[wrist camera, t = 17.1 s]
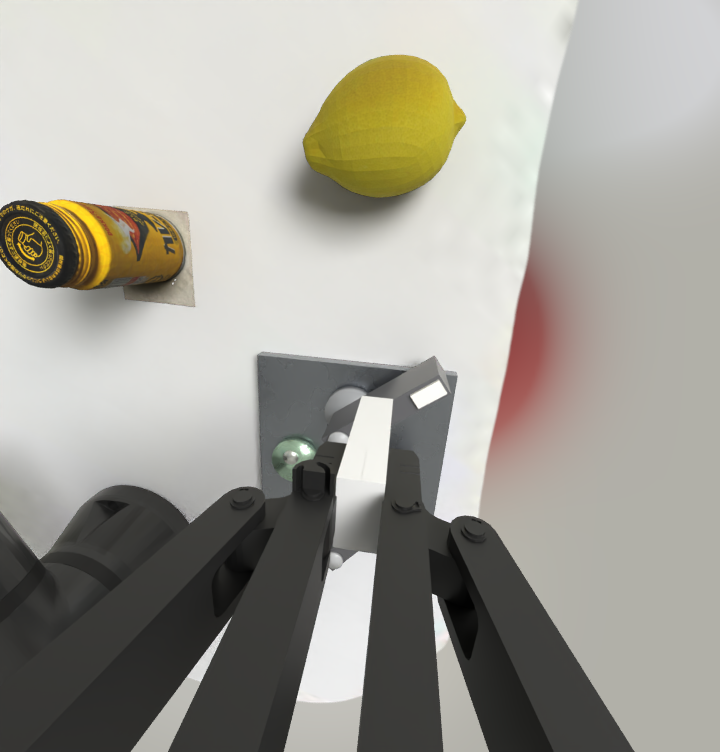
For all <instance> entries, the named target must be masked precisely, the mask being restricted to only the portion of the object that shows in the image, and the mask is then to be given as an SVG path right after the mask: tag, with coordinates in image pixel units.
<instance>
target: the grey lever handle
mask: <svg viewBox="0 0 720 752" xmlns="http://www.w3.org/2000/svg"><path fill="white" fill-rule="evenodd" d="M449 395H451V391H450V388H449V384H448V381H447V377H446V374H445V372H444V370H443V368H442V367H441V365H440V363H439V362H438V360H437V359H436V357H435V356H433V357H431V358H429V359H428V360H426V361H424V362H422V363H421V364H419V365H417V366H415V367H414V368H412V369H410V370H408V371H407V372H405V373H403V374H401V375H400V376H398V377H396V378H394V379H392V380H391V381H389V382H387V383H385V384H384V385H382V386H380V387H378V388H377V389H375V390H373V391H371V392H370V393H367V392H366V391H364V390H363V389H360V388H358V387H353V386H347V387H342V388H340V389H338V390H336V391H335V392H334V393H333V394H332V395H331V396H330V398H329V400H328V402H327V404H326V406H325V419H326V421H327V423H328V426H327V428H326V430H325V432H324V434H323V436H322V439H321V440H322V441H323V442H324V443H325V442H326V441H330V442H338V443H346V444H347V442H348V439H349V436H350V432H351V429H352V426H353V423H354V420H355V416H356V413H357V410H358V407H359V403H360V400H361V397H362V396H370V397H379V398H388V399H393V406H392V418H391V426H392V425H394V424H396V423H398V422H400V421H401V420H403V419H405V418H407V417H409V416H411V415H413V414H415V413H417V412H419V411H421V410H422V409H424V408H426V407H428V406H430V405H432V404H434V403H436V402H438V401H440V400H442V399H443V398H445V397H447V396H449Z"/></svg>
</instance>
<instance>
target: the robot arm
mask: <svg viewBox="0 0 720 752" xmlns="http://www.w3.org/2000/svg"><path fill="white" fill-rule="evenodd" d="M392 406H393V399H388V398H379V397H370V396H362V397H361V400H360V403H359V407H358V410H357V413H356V416H355V420H354V423H353V426H352V429H351V432H350V436H349V439H348V442H347V444H346V443H338V442H330V441H326V442H325V443H323V444H322V445H321V446H319V447H318V450H317V452H316V454H315V456H314V458H313V459H310V460H305V461H302V462H300V463H298V464H296V465H295V466H294V467H293V468H292V492H291V494H290V495H288V496H285V497H280V498H271V499H265V495H264V493H263V492H262V491H261V490H259V489H257V488H254V487H239V488H236V489H233V490H231V491H229V492H228V493H226V494H224V495H223V496H222V497H221V498H220V499H219V500H217V501H216V502H215V503H214V504H213V505H212V506H210V507H209V508H208V509H207V510H206V511H205V512H203V513H202V514H201V515H200V516H199V517H198V518H196V519H195V520H194V521H193V522H192V523H190V524H188V522H187V520H186V519H185V518H184V516H183V515H182V514H181V513H180V512H179V511H178V510H177V509H176V508H175V507H174V506H173V505H172V504H171V503H169V502H168V501H167V500H165V499H164V498H162V497H160V496H159V495H157V494H155V493H153V492H151V491H148V490H146V489H143V488H139V487H135V486H126V485H120V486H112V487H109V488H106V489H104V490H102V491H100V492H99V493H97V494H96V495H95V496H94V497H92V498H91V499H90V500H88V501H87V502H86V503H85V504H84V505H83V506H82V507H81V508H80V509H79V510H78V511H77V513H76V514H75V516H74V517H73V518H72V520H71V521H70V523H69V524H68V526H67V527H66V528H65V530H64V531H63V533H62V534H61V535H60V537H59V538H58V540H57V541H56V543H55V544H54V545H53V547H52V548H51V550H50V551H49V552H48V553H47V554H46V555H45V556H44V557H42V558H41V559H40V560H38V558H37V557H36V556H35V554H34V553H33V552H32V551H31V549H30V548H29V547H28V546H27V544H26V543H25V542H24V541H23V539H22V538H21V537H20V535H19V534H18V533H17V532H16V530H15V529H14V528H13V527H12V525H11V524H10V523H9V522H8V520H7V519H6V518H5V517H4V515H3V514H2V513H1V512H0V752H131V750H132V749H133V748H134V746H135V745H136V744H137V742H138V741H139V739H140V738H141V737H142V736H143V734H144V733H145V731H146V730H147V729H148V728H149V726H150V725H151V724H152V722H153V721H154V720H155V718H156V717H157V716H158V714H159V713H160V712H161V710H162V709H163V707H164V706H165V705H166V704H167V702H168V701H169V699H170V698H171V697H172V696H173V694H174V693H175V692H176V690H177V689H178V687H179V686H180V685H181V684H182V682H183V681H184V680H185V678H186V677H187V676H188V674H189V673H190V672H191V670H192V669H193V668H194V666H195V665H196V664H197V662H198V661H199V660H200V658H201V657H202V656H203V654H204V653H205V652H206V650H207V649H208V648H209V646H210V645H211V644H212V642H213V641H214V640H215V638H216V637H217V636H218V634H219V633H220V632H221V630H222V629H223V628H224V626H225V625H226V624H227V622H228V621H229V620H230V618H231V617H232V618H231V620H230V623H229V625H228V627H227V629H226V631H225V633H224V635H223V637H222V639H221V641H220V644H219V646H218V648H217V650H216V652H215V654H214V656H213V658H212V660H211V662H210V665H209V667H208V669H207V671H206V673H205V675H204V677H203V679H202V681H201V683H200V686H199V688H198V690H197V692H196V694H195V696H194V698H193V700H192V702H191V704H190V707H189V709H188V711H187V713H186V715H185V717H184V719H183V722H182V723H181V726H180V728H179V730H178V732H177V734H176V736H175V738H174V740H173V742H172V744H171V747H170V749H169V751H168V752H284V748H285V744H286V740H287V736H288V732H289V728H290V724H291V720H292V715H293V711H294V707H295V703H296V699H297V695H298V691H299V687H300V683H301V678H302V674H303V670H304V666H305V662H306V658H307V654H308V650H309V646H310V642H311V637H312V633H313V629H314V625H315V621H316V617H317V613H318V609H319V605H320V600H321V596H322V592H323V588H324V584H325V580H326V576H327V572H328V568H329V564H330V554H331V546H332V542H333V547H335V548H342V549H348V550H355V551H362V552H368V553H375V554H377V557H376V567H375V576H374V585H373V586H374V587H373V597H372V606H371V616H370V626H369V636H368V646H367V656H366V666H365V676H364V686H363V696H362V707H361V716H360V726H359V736H358V746H357V752H443V741H442V728H441V713H440V700H439V686H438V672H437V659H436V645H435V631H434V618H433V604H432V594H435V595H437V598H438V603H439V606H440V609H441V612H442V615H443V618H444V621H445V623H446V626H447V629H448V632H449V635H450V638H451V641H452V644H453V647H454V650H455V653H456V656H457V658H458V662H459V664H460V667H461V670H462V673H463V676H464V679H465V682H466V685H467V688H468V691H469V694H470V697H471V700H472V703H473V706H474V708H475V711H476V714H477V717H478V720H479V723H480V726H481V729H482V732H483V735H484V738H485V741H486V744H487V746H488V750H489V752H634V750H633V749H632V747H631V746H630V744H629V742H628V741H627V739H626V738H625V736H624V734H623V733H622V731H621V730H620V728H619V726H618V725H617V723H616V722H615V720H614V719H613V717H612V715H611V714H610V712H609V711H608V709H607V707H606V706H605V704H604V703H603V701H602V700H601V698H600V696H599V695H598V693H597V692H596V690H595V688H594V687H593V685H592V684H591V682H590V680H589V679H588V677H587V676H586V674H585V673H584V671H583V670H582V668H581V666H580V664H579V663H578V662H577V660H576V658H575V657H574V655H573V653H572V652H571V650H570V649H569V647H568V645H567V644H566V642H565V641H564V639H563V638H562V636H561V634H560V633H559V631H558V629H557V628H556V626H555V625H554V623H553V622H552V620H551V618H550V617H549V615H548V614H547V612H546V610H545V609H544V607H543V606H542V604H541V603H540V601H539V599H538V598H537V596H536V595H535V593H534V591H533V590H532V588H531V587H530V585H529V583H528V582H527V580H526V579H525V577H524V575H523V574H522V572H521V571H520V569H519V567H518V566H517V564H516V563H515V561H514V560H513V558H512V556H511V555H510V553H509V552H508V550H507V548H506V547H505V546H504V544H503V542H502V540H501V539H500V537H499V536H498V534H497V533H496V531H495V530H494V529H493V528H492V527H491V526H490V525H489V524H488V523H486V522H485V521H483V520H481V519H479V518H476V517H473V516H460V517H457V518H455V519H454V520H452V522H451V523H448V522H446V521H443V520H441V519H439V518H437V517H435V516H433V515H432V514H430V513H429V512H428V511H427V510H426V509H425V506H424V503H423V502H422V495H421V479H420V464H419V458H418V456H417V455H416V454H415V452H414V451H410V450H402V449H394V448H389V440H390V429H391V418H392Z"/></svg>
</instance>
